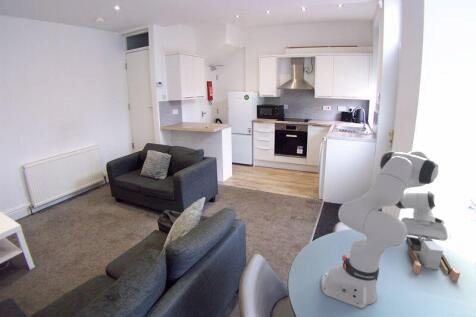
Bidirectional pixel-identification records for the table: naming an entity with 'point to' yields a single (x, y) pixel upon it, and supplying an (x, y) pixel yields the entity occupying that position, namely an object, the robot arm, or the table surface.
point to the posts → (453, 275)
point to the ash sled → (444, 268)
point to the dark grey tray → (413, 243)
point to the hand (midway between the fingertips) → (424, 245)
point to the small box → (430, 254)
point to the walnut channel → (441, 258)
